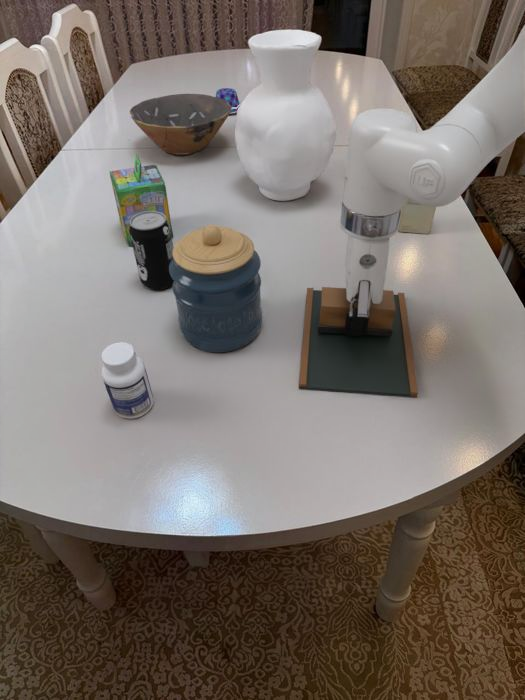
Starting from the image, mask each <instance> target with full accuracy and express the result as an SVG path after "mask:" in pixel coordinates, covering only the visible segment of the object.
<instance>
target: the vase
mask: <svg viewBox="0 0 525 700" xmlns="http://www.w3.org/2000/svg"><path fill="white" fill-rule="evenodd" d="M321 44H322V36H321V35H320V34H317V33H316V32H312V31H309V30H302V29H290V28H289V29H275V30H269V31H264V32H262V33H257V34H255V35H252V36H251V37H250V38H249V39H248V41H247V45H248V47H249V50H250V51H251V53H252V56H253V58H254V62H255V64H256V66H257V69H258V73H259V78H260V83H259V84H258V85H256V86H255V87H254V88H253V89H251V90H250V92H249V93H248V94H247V95H246V97H245V98H244V99H243V100H242V101H241V102H242V103H241V105H240V106H239V108H238V111H237V113H236V116H235V127H234V128H235V130H234V141H235V147H236V151H237V154H238V157H239V161H240V163H241V165H242V167H243V170H244V172H245V173H246V174H247V176H248V178H250V179H251V180H252V182H253V183H255V184H256V185H257V186H259V188H258V190H259V192H260V194H261V195H262V196H263V197H265V198H267V199H269V200H273V201H279V202H288V201H293V200H297V199H299V198H302V197H304V196H306V195H307V194H308V193H309V191H310V187H311V182H312V181H314V180H316V179H317V178H318V177H319V176H320V175H322V174H323V173H324V172H325V170H326V168H327V167H328V165H329V163H330V161H331V158H332V155H333V153H334V149H335V148H334V147H335V143H336V140H337V129H338V126H337V123H336V122H335V118H334V114H333V111H332V110H331V107H330V106H331V105H330V104H329V102H328V100H327V99H326V97H325V96H324V94H323V92H322V91H321V89H319V88H318V87H317V86H316V85H314V84H312V83H311V76H312V68H313V64H314V61H315V58H316V56H317V53H318V51H319V48H320V46H321Z"/></svg>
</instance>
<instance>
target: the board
mask: <svg viewBox="0 0 525 700" xmlns="http://www.w3.org/2000/svg"><path fill="white" fill-rule="evenodd" d="M321 293H322V289H321V290H320V289H314V287H307V288H306V299H305V309H304V310H305V311H304V321H303V322H304V323H303V331H302V332H303V334H302V345H301V355H300V356H301V357H300V367H299V378H298V379H299V380H298V390H311V391H322V392H323V391H325V392H337V393H352V394H364V395H365V394H366V395H380V396H390V397H391V396H392V397H394V396H395V397H403V398H404V397H405V398H406V397H407V398H415V399H416V398H418V395H419V388H418V380H417V373H416V366H415V360H414V352H413V351H414V350H413V346H412V345H413V344H412V337H411V331H410V325H409V323H410V322H409V317H408V310H407V303H406V296H405V292H398V293H397V294H394V293H393V295H394V303H395V315H394V319H393V324H392V330H393V331H392V336H375V335H366V336H364V337H361V336H346V335H345V334H341V333H325V332H318V316H319V306H320V305H321Z"/></svg>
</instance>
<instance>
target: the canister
mask: <svg viewBox="0 0 525 700" xmlns="http://www.w3.org/2000/svg"><path fill="white" fill-rule="evenodd" d="M173 247H174V248H173V258H172V259H171V261H170V264H169V272H170V275H171V277H172V278H173V280H174V281H173V285H172V292H173V293H172V294H173V295H174V298H175V302H176V303H175V304H176V309H177V314H178V317H177V321H178V326H179V329H180V331H181V333H182V336H183V338H184V339H185V341H187V343H189V345H190V346H191V347H192V346H193V347H194V348H196V349H198V350H201V351H205V352H209V353H226V352H232V351H235V350H239V349H241V348H243V347H245V346H247V345H248V344H250V343H252V341H253V340H255V339H256V337H257V336H258V334H259V333H260V330H261V327H262V323H263V310H262V303H261V302H262V301H261V286H262V277H261V275H260V273H259V271H260V269H261V263H262V262H261V258H260V255H259V254H258V251H256V250H255V245H254V242H253V241H252V239H251V238H250V237H249V236H248V235H247V234H245V233H243V232H241V231H239V230H236V229H233V228H231V227H228V226H221V225H214V224H209V225H207V226H204V227H200V228H197V229H194V230H192V231H191V232H189V233H188V234H185V235H184V236H182V237H181V238H180V239H178V241H176V243H175V244H174V245H173Z"/></svg>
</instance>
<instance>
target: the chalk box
mask: <svg viewBox="0 0 525 700" xmlns="http://www.w3.org/2000/svg"><path fill="white" fill-rule="evenodd" d="M109 177H110V181H111V186H112V190H113V191H112V192H113V194H114V195H113V196H114V200H115V204H116V208H117V213H118V218H119V223H120V226H121V229H122V232H123V235H124V237H125V240H126V243H127V245H128V246H129V247H131V246H132V242H131V237H130V233H129V228H130V219H131V218H132V217H133V216H134V215H136V214H138V213H141V212H145V211H158V212H161V213H163V214H164V215H165V216H166V220H167V221H168V223H169V224H170V229H171V235H172V239H173V238H174V232H173V227H172V221H171V214H170V207H169V200H168V193H167V187H166V182H165V180H164V178H163V176H162V174H161V172H160V171H159V168H158V166H157V165H156V164H149V165H143V166H142V161H141V160H140V158H139V156H138V154H135V155H134V167H130V168H123V169H117V170H111V171H109ZM132 247H133V246H132Z"/></svg>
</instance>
